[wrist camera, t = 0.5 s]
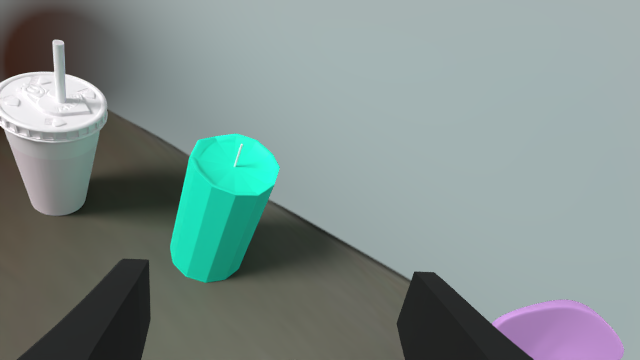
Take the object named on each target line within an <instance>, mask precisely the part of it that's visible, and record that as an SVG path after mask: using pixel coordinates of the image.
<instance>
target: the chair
mask: <svg viewBox="0 0 640 360" xmlns="http://www.w3.org/2000/svg"><path fill="white" fill-rule="evenodd" d="M492 325H493V326H494V327H496V328H497V329H498V330H499V331H500V332H501V333H502V334H504V335H505V336H506V337H507V338H508V339H509V340H511V341H512V342H513V343H514V344H516V345H517V346H518V347H519V348H520V349H522V350H523V351H524V352H525V353H527V354H528V355H529V356H530V357H532V358H533V359H534V360H620V359H621V358H622V356H623V353H624V348H623V345H622V342H621V341H620V339H619V337H618V335H617V334H616V333H615V331H614V330H613V329H612V328H611V327H610V326H609V325H608V323H607V322H606V321H605V320H604V319H603V318H602V317H601V316H599V315H598V314H597V313H596V312H595V311H594V310H592V309H591V308H589V307H588V306H586V305H584V304H582V303H579V302H576V301H572V300H553V301H547V302H542V303H538V304H534V305H530V306H526V307H523V308H520V309H517V310H514V311H511V312H509V313H507V314H505V315H503V316H500V317H499V318H498V319H496V320H495V321H494V322H493V323H492Z"/></svg>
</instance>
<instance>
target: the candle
mask: <svg viewBox="0 0 640 360" xmlns="http://www.w3.org/2000/svg"><path fill="white" fill-rule="evenodd" d="M279 168H280V167H279V165H278V163H277V161H276V159H275V157H274V156H273V154H272V153H271V152H270V151H269V150H268V149H267V148H265V147H264V146H263V145H262V144H261V143H260V142H259V141H257V140H255V139H251V138H249V137H245V136H243V135H239V134H230V135H222V136H214V137H210V138H205V139H200V140H198V141H197V143H196V146H195V147H194V149H193V151H192V153H191V155H190V157H189V162H188V167H187V171H186V176H185V180H184V185H183V190H182V194H181V199H180V203H179V208H178V213H177V217H176V222H175V226H174V231H173V236H172V240H171V245H170V250H171V255H172V260H173V264H174V265H175V266H176V267H177V268H178V269H179V270H180V271H181V272H182V273H183V274H184V275H185V276H186V277H189V278H192V279H195V280H199V281H202V282H205V283H207V282H213V281H220V280H225V279H227V278H228V277H229V276H230V275H232V274H233V273H234V272H236V271H237V270H238V269H239V267H240V265H241V262H242V260H243V258H244V255H245V253H246V250H247V248H248V246H249V243H250V241H251V239H252V236H253V234H254V232H255V229H256V227H257V225H258V222H259V220H260V217H261V215H262V213H263V210H264V208H265V206H266V203H267V201H268V199H269V196H270V193H271V191H272V189H273V187H274V184H275V181H276V178H277V175H278V172H279Z"/></svg>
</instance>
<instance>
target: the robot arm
mask: <svg viewBox="0 0 640 360" xmlns="http://www.w3.org/2000/svg"><path fill="white" fill-rule="evenodd" d="M149 323H150V286H149V260H141V259H122V260H121V261H119V262H118V263H117V264H116V265H115V266H114V268H113V269H112V270H111V271H110V272H109V273H108V274H107V275H106V276H105V277H104V278H103V279H102V280H101V281H100V283H99V284H98V285H97V286H96V287H95V288H94V289H93V290H92V291H91V292H90V293H89V294H88V295H87V296H86V297H85V298H84V299H83V300H82V301H81V302H80V303H79V304H78V305H77V306H76V307H75V308H74V309H73V310H71V311H70V312H69V313H68V314H67V315H66V316H65V317H64V318H63V319H62V320H61V321H60V322H59V323H58V324H57V325H56V326H55V327H53V328H52V329H51V330H50V331H49V332H48V333H47V334H46V335H44V336H43V337H42V338H41V339H40V340H39V341H38V342H36V343H35V344H34V345H33V346H32V347H31V348H30V349H29V350H27V351H26V352H25V353H24V354H23V355H22V356H20V357H19V358H18V359H17V360H141V358H142V353H143V349H144V345H145V341H146V337H147V332H148V328H149ZM397 327H398V332H399V336H400V341H401V345H402V349H403V353H404V357H405V360H534V359H533V358H532V357H530V356H529V355H528V354H527V353H525V352H524V351H523V350H522V349H520V348H519V347H518V346H517V345H516V344H514V343H513V342H512V341H511V340H509V339H508V338H507V337H506V336H505V335H504V334H502V333H501V332H500V331H499V330H498V329H497V328H496V327H494V326H493V325H492V324H491V323H490V322H489V321H487V320H486V319H485V318H484V317H483V316H482V315H481V314H480V313H479V312H478V311H477V310H475V309H474V308H473V307H472V306H471V305H470V304H469V303H468V302H467V301H466V300H465V299H463V298H462V297H461V296H460V295H459V294H458V293H457V292H456V291H455V290H454V289H453V288H451V287H450V286H449V285H448V284H447V283H446V282H445V281H444V280H443V279H441V278H440V277H439V276H438V275H436V274H435V273H434V272H414V274H413V277H412V280H411V283H410V286H409V289H408V292H407V295H406V298H405V300H404V303H403V306H402V309H401V312H400V315H399V318H398V321H397Z"/></svg>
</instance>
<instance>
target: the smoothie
mask: <svg viewBox="0 0 640 360" xmlns="http://www.w3.org/2000/svg"><path fill="white" fill-rule="evenodd" d="M53 54H54V55H53V56H54V72H32V73H25V74H20V75H17V76H14V77H11V78H9V79H7V80H5V81H3V82H2V83H0V126H1V127H2V128H4V130H5V133H6V136H7V139H8V141H9V143H10V146H11V149H12V152H13V154H14V157H15V160H16V162H17V165H18V168H19V171H20V173H21V176H22V179H23V181H24V184H25V187H26V190H27V192H28V195H29V198H30V200H31V203H32V205H33V207H34V208H35V209H36V210H38V211H39V212H41V213H43V214H46V215H52V216H61V215H67V214H70V213H73V212H75V211H77V210H78V209H80V208H81V207H82V206H83V204H84V202H85V200H86V195H87V190H88V185H89V180H90V175H91V171H92V166H93V161H94V156H95V151H96V146H97V142H98V138H99V132H100V129H102V127H103V126H104V124H105V123H106V121H107V115H108V113H107V101H106V99H105V97H104V95H103V94H102V92H101V91H100V90H99V89H98V88H96V87H95V86H94V85H92V84H90V83H89V82H87V81H85V80H82V79H80V78H77V77H74V76H71V75H66V74H65V61H64V59H65V58H64V42H63V41H61V40H54V41H53Z"/></svg>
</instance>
